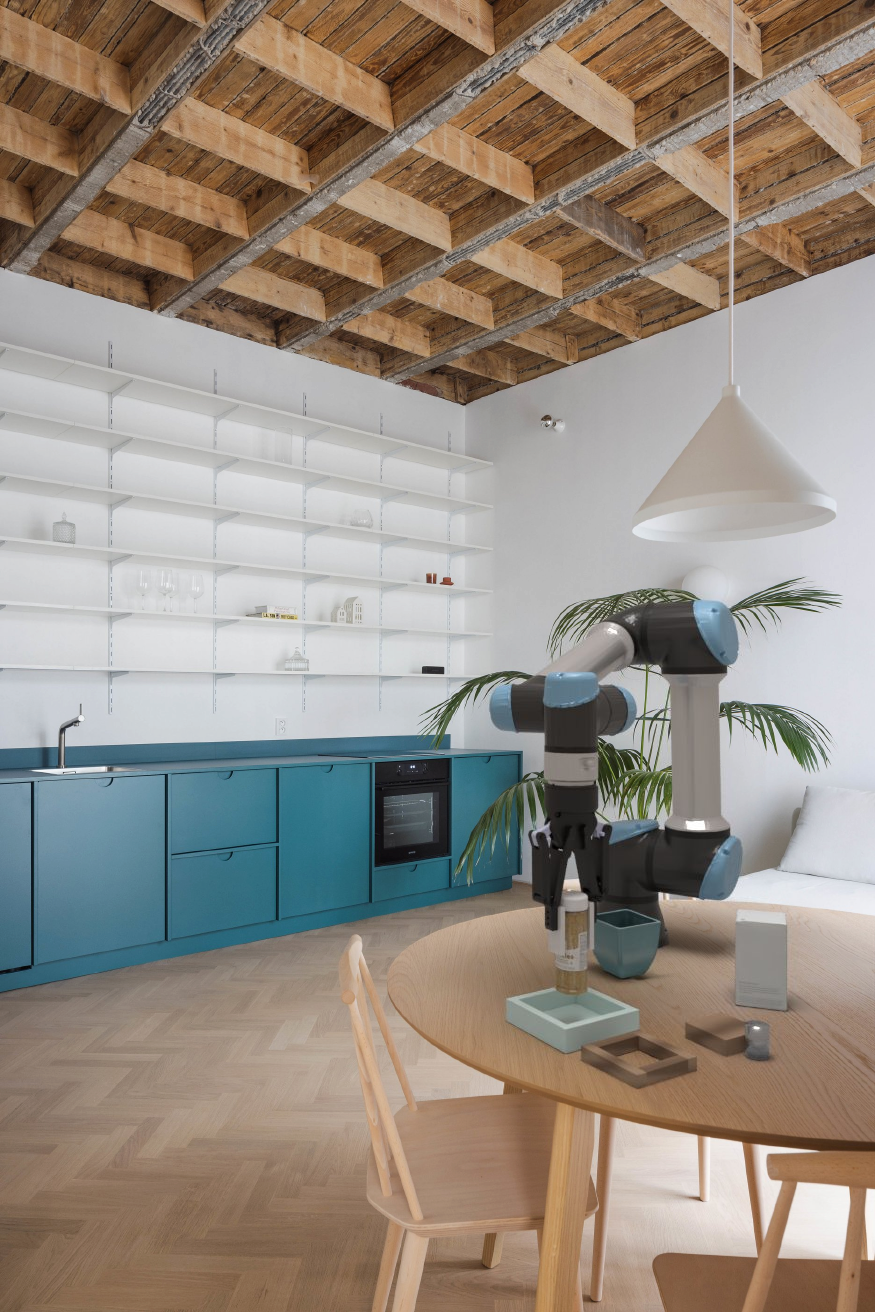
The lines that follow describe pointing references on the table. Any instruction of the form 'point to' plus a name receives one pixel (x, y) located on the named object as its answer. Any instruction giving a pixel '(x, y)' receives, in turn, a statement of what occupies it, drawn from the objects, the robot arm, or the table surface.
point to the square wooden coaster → (717, 1033)
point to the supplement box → (761, 959)
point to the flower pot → (625, 942)
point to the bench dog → (757, 1040)
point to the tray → (571, 1017)
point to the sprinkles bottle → (573, 945)
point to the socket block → (669, 1066)
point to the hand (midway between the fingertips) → (571, 949)
